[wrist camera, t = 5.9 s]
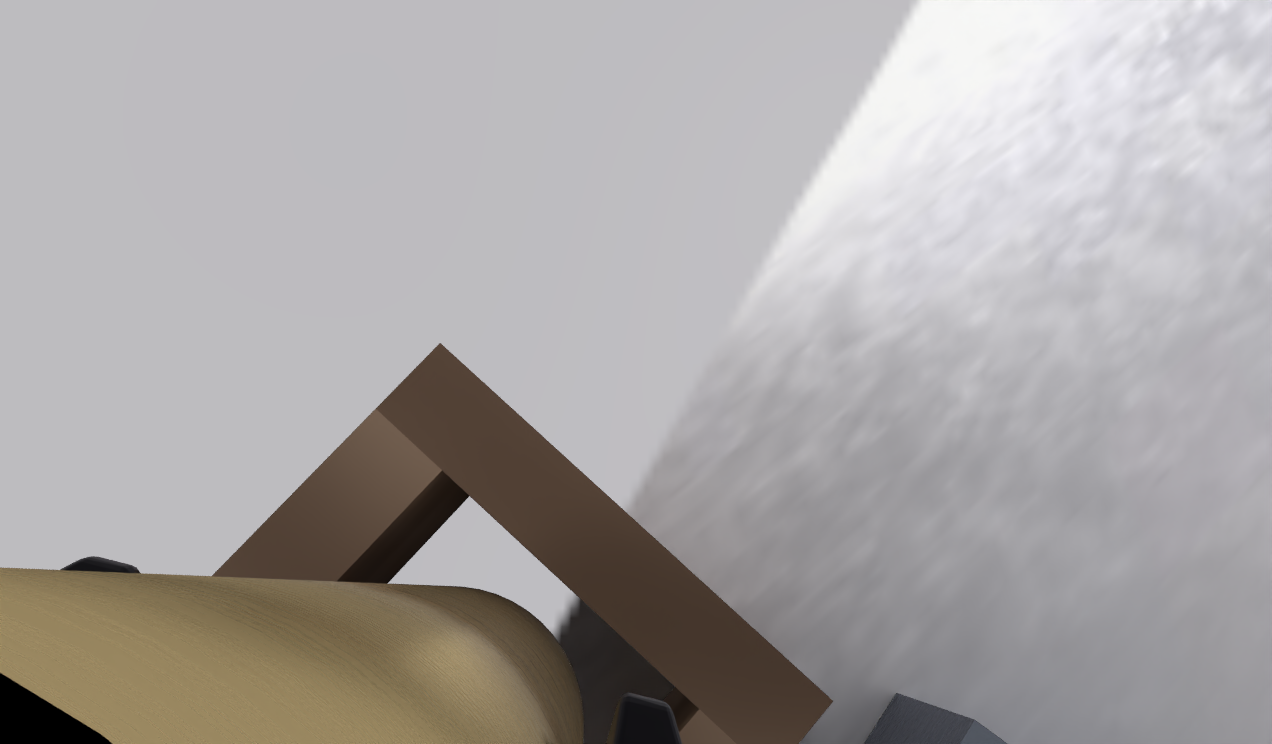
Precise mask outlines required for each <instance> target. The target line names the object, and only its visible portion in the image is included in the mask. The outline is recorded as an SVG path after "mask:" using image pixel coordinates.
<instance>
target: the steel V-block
mask: <svg viewBox="0 0 1272 744" xmlns="http://www.w3.org/2000/svg"><path fill="white" fill-rule="evenodd" d="M864 744H1007V743H1006V742H1004V741H1003V740H1002V739H1000V738H999V737H997V736H996V735H995V734H993V733H992V732H991V731H989V730H988V729H987V728H985V727H984V726H982V725H981V724H980V723H978V722H977V721H976V720H973V719H971V718H968V717H965V716H962V715H959V714H956V713H953V712H950V711H947V710H945V709H942V708H939V707H936V706H933V705H930V704H927V703H924V702H921V701H918V700H916V699H913V698H910V697H907V696H904V695H901V694H898V693H896V695H895V696H894V698H893V699H892V701H891V702H890V704H889V706H888V707H887V709H886V710H885V712H884V713H883V715H882V717H881V718H880V720H879V721H878V723H877V724H876V726H875V728H874V729H873V731H872V732H871V734H870V735H869V737H868V738H867V740H866V742H865V743H864Z"/></svg>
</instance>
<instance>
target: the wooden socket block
mask: <svg viewBox="0 0 1272 744" xmlns="http://www.w3.org/2000/svg"><path fill="white" fill-rule="evenodd" d="M469 496H470V497H471V498H473V499H474V500H475V501H476V502H477V503H478V504H479V505H480V506H481V507H482V508H484V510H485V511H486V512H488V513H489V514H490V515H491V516H492V517H493V518H494V519H495V520H496V521H497V522H498V523H499V524H500V525H502V526H503V527H504V528H505V529H506V530H507V531H508V532H509V533H510V534H511V535H512V536H513V537H514V538H516V539H517V540H518V541H519V542H520V543H521V544H522V545H523V546H524V547H525V548H526V549H527V550H529V551H530V552H531V553H532V554H533V555H534V556H535V557H536V558H537V559H538V560H540V562H541V563H542V564H544V565H545V566H546V567H547V568H548V569H549V570H550V571H551V572H552V573H553V574H554V575H555V576H556V577H558V578H559V579H560V580H561V581H562V582H563V583H564V584H565V585H566V586H567V587H568V588H569V589H570V590H572V591H573V592H574V593H575V594H576V595H577V596H578V597H579V598H580V599H581V600H582V601H583V602H584V603H586V604H587V605H588V606H589V607H590V608H591V609H592V610H593V611H594V612H595V613H596V614H597V615H598V616H600V617H601V618H602V619H603V620H604V621H605V622H606V623H607V624H608V625H609V626H610V627H611V628H612V629H614V630H615V631H616V632H617V633H618V634H619V635H620V636H621V637H622V638H623V639H624V640H625V641H626V642H628V643H629V644H630V645H631V646H632V647H633V648H634V649H635V650H636V651H637V652H638V653H639V654H640V655H642V656H643V657H644V658H645V659H646V660H647V661H648V662H649V663H650V664H651V665H652V666H653V667H654V668H656V669H657V670H658V671H659V672H660V673H661V674H662V675H663V676H664V677H665V678H666V679H667V680H668V681H670V682H671V683H672V684H673V685H674V686H675V687H674V688H673V689H672V691H671V692H670V693H669V694H668V695H667V697H666V698H665V699H664V700H663V701H664V702H666V703H667V704H668V705H669V706H670V707H671V709H672V711H673V714H674V717H675V720H676V724H677V727H678V731H679V734H680V738H681V741H682V744H799V742H800V741H801V740H802V739H803V738H804V736H805V735H806V734H807V733H808V731H809V730H810V729H811V728H812V727H813V725H814V724H815V723H816V722H817V720H818V719H819V718H820V717H821V715H822V714H823V713H824V712H825V711H826V709H827V708H828V707H829V706H830V704H831V703H832V702H833V701H832V700H831V699H830V698H829V697H828V696H827V695H826V694H825V693H824V692H823V691H822V690H820V689H819V688H818V687H817V686H816V685H815V684H814V683H813V682H812V681H811V680H809V679H808V678H807V677H806V676H805V675H804V674H803V673H802V672H801V671H800V670H798V669H797V668H796V667H795V666H794V665H793V664H792V663H791V662H790V661H789V660H787V659H786V658H785V657H784V656H783V655H782V654H781V653H780V652H779V651H778V650H777V649H775V648H774V647H773V646H772V645H771V644H770V643H769V642H768V641H767V640H766V639H764V638H763V637H762V636H761V635H760V634H759V633H758V632H757V631H756V630H755V629H753V628H752V627H751V626H750V625H749V624H748V623H747V622H746V621H745V620H744V619H742V618H741V617H740V616H739V615H738V614H737V613H736V612H735V611H734V610H733V609H732V608H730V607H729V606H728V605H727V604H726V603H725V602H724V601H723V600H722V599H721V598H719V597H718V596H717V595H716V594H715V593H714V592H713V591H712V590H711V589H710V588H708V587H707V586H706V585H705V584H704V583H703V582H702V581H701V580H700V579H699V578H697V577H696V576H695V575H694V574H693V573H692V572H691V571H690V570H689V569H688V568H687V567H685V566H684V565H683V564H682V563H681V562H680V561H679V560H678V559H677V558H676V557H674V556H673V555H672V554H671V553H670V552H669V551H668V550H667V549H666V548H665V547H663V546H662V545H661V544H660V543H659V542H658V541H657V540H656V539H655V538H654V537H652V536H651V535H650V534H649V533H648V532H647V531H646V530H645V529H644V528H643V527H641V526H640V525H639V524H638V523H637V522H636V521H635V520H634V519H633V518H632V517H631V516H629V515H628V514H627V513H626V512H625V511H624V510H623V509H622V508H621V507H620V506H618V505H617V504H616V503H615V502H614V501H613V500H612V499H611V498H610V497H609V496H607V495H606V494H605V493H604V492H603V491H602V490H601V489H600V488H599V487H598V486H596V485H595V484H594V483H593V482H592V481H591V480H590V479H589V478H588V477H587V476H586V475H584V474H583V473H582V472H581V471H580V470H579V469H577V467H575V466H574V465H573V464H572V463H571V462H570V461H569V460H568V459H567V458H566V457H565V456H564V455H562V454H561V453H560V452H559V451H558V450H557V449H556V448H555V447H554V446H553V445H551V444H550V443H549V442H548V441H547V440H546V439H545V438H544V437H543V436H542V435H541V434H539V433H538V432H537V431H536V430H535V429H534V428H533V427H532V426H531V425H529V424H528V423H527V422H526V421H525V420H524V419H523V418H522V417H521V416H519V415H518V414H517V413H516V412H515V411H514V410H513V409H512V408H511V407H510V406H509V405H507V404H506V403H505V402H504V401H503V400H502V399H501V398H500V397H499V396H498V395H497V394H496V393H494V392H493V391H492V390H491V389H490V388H489V387H488V386H487V385H486V384H485V383H483V382H482V381H481V380H480V379H479V378H478V377H477V376H476V375H475V374H474V373H472V372H471V371H470V370H469V369H468V368H467V367H466V366H465V365H464V364H462V363H461V362H460V361H459V360H458V359H457V358H456V357H455V356H454V355H453V354H451V353H450V352H449V351H448V350H447V349H446V348H445V347H444V346H443V345H442V344H441V343H440V344H439V345H438V346H437V347H436V348H435V349H434V350H433V351H432V352H431V353H430V354H429V355H428V356H427V357H426V358H425V359H424V360H423V361H422V362H421V363H420V364H419V365H418V366H417V367H416V368H415V369H414V370H413V371H412V372H411V373H410V374H409V376H408V377H406V379H404V380H403V381H402V382H401V384H400V385H399V386H398V387H397V388H396V389H395V390H394V391H393V392H392V393H391V394H390V395H389V396H388V397H387V398H386V399H385V400H384V401H383V402H382V403H381V404H380V405H379V406H378V407H377V408H376V409H375V410H374V411H373V412H372V413H371V414H370V415H369V416H368V417H367V418H366V419H365V420H364V421H363V422H362V423H361V424H360V426H358V427H357V428H356V429H355V431H353V432H352V434H351V435H350V436H349V437H348V438H347V439H346V440H345V441H344V442H343V443H342V444H341V445H340V446H339V447H338V448H337V449H336V450H335V451H334V452H333V453H332V454H331V455H330V456H329V457H328V458H327V459H326V460H325V461H324V462H323V463H322V464H321V465H320V466H319V467H318V468H317V469H316V470H315V471H314V472H313V473H312V474H311V475H310V477H308V479H306V480H305V482H304V483H303V484H302V485H301V486H300V487H299V488H298V489H297V490H296V491H295V492H294V493H293V494H292V495H291V496H290V497H289V498H288V499H287V500H286V501H285V502H284V503H283V504H282V505H281V506H280V507H279V508H278V509H277V510H276V511H275V512H274V513H273V514H272V515H271V516H270V517H269V518H268V519H267V520H266V521H265V522H264V523H263V524H262V525H261V526H260V528H259V529H257V531H256V532H255V533H254V534H253V535H252V536H251V537H250V538H249V539H248V540H247V541H246V542H245V543H244V544H243V545H242V546H241V547H240V548H239V549H238V550H237V551H236V552H235V553H234V554H233V555H232V556H231V557H230V558H229V559H228V560H227V561H226V562H225V563H224V564H223V565H222V566H221V568H219V569H218V570H217V571H216V572H215V573H214V574H213V575H212V576H214V577H238V578H262V579H287V580H311V581H335V582H359V583H384V584H387V583H388V582H389V581H390V580H391V579H392V578H393V577H394V576H395V575H396V574H397V573H398V572H399V571H400V569H401V568H402V567H403V566H404V565H405V564H406V563H407V562H408V561H409V560H410V559H411V558H412V557H413V555H415V553H416V552H417V551H418V550H419V549H420V548H421V547H422V546H423V545H424V544H425V543H426V542H427V541H428V539H430V538H431V536H432V535H433V534H434V533H435V532H436V531H437V530H438V529H439V528H440V527H441V526H442V525H443V524H444V523H445V522H446V520H447V519H448V518H449V517H450V516H451V515H452V514H453V513H454V512H455V511H456V510H457V509H458V508H459V507H460V506H461V504H462V503H463V502H464V501H465V500H466V499H467V498H468V497H469Z"/></svg>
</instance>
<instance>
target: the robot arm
mask: <svg viewBox="0 0 1272 744" xmlns="http://www.w3.org/2000/svg"><path fill="white" fill-rule="evenodd" d="M61 570H69V571H93V572H117V573H140V572H139V570H138V569H137V568H136V567H134V566H132V565H128V564H125V563H120V562H117V561H113V560H109V559H105V558H101V557H87V558H83V559H80V560H78V561H76V562H74V563H72V564H70V565H68V566H66V567H64V568H62V569H61ZM606 744H682V741H681V738H680V734H679V731H678V727H677V724H676V720H675V717H674V714H673V711H672V709H671V707H670V706H669V705H668V704H667V703H666V702H664V701H661V700H658V699H654V698H650V697H646V696H642V695H638V694H634V693H625V694H623V695H622V696H621V697H620V699H619V701H618V704H617V707H616V710H615V714H614V717H613V720H612V724H611V727H610V730H609V734H608V737H607V740H606Z"/></svg>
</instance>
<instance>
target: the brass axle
mask: <svg viewBox="0 0 1272 744" xmlns="http://www.w3.org/2000/svg"><path fill="white" fill-rule="evenodd" d="M583 734H584V715H583V705H582V698H581V693H580V689H579V685H578V681H577V678H576V676H575V673H574V670H573V668H572V665H571V663H570V661H569V659H568V657H567V656H566V654H565V652H564V650H563V648H562V647H561V645H560V644H559V643H558V641H557V640H556V638H555V637H554V636H553V634H552V633H551V632H550V631H549V630H548V629H547V628H546V627H545V626H544V625H543V623H541V621H539V620H538V619H537V618H536V617H535V616H533V615H532V614H531V613H530V612H528V611H527V610H526V609H524V608H522V607H521V606H519V605H517V604H516V603H514V602H513V601H510V600H508V599H506V598H504V597H502V596H499V595H497V594H494V593H490V592H487V591H484V590H480V589H474V588H467V587H456V586H455V587H454V586H431V585H408V584H384V583H359V582H335V581H311V580H287V579H262V578H238V577H214V576H189V575H166V574H165V575H164V574H141V573H117V572H93V571H69V570H43V569H20V568H0V744H583Z"/></svg>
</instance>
